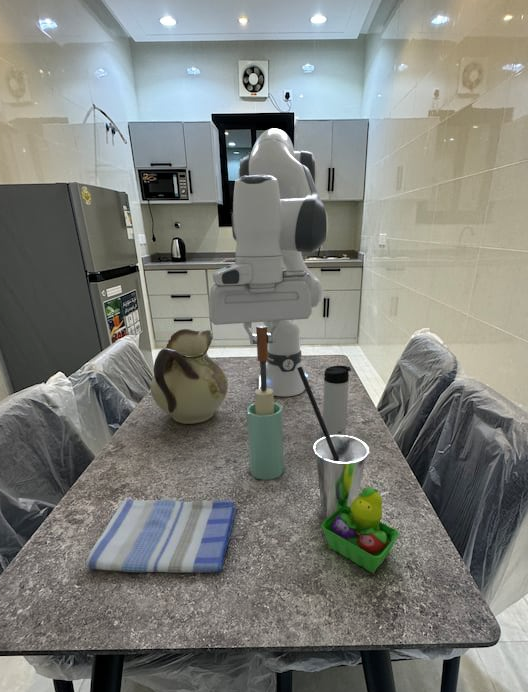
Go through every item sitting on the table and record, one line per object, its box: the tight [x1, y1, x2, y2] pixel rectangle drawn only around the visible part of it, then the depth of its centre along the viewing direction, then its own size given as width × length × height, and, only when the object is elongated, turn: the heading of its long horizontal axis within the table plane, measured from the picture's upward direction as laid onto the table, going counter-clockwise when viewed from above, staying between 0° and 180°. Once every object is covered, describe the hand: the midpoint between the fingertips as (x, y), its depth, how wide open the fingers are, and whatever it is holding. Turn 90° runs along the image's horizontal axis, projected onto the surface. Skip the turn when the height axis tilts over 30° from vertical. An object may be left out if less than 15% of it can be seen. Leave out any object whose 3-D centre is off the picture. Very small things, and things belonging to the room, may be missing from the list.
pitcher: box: [150, 328, 229, 425], centre depth 113 cm, size 22×24×25 cm
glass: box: [297, 367, 370, 521], centre depth 70 cm, size 11×11×30 cm
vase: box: [246, 402, 284, 481], centre depth 87 cm, size 8×8×16 cm
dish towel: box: [85, 498, 238, 574], centre depth 70 cm, size 17×24×3 cm
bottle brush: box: [254, 325, 275, 415], centre depth 81 cm, size 4×4×21 cm
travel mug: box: [321, 365, 352, 438], centre depth 101 cm, size 6×7×20 cm
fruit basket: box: [320, 486, 400, 574], centre depth 65 cm, size 11×9×11 cm
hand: (262, 343), depth 78 cm, fingers closed on bottle brush, 2 cm apart
